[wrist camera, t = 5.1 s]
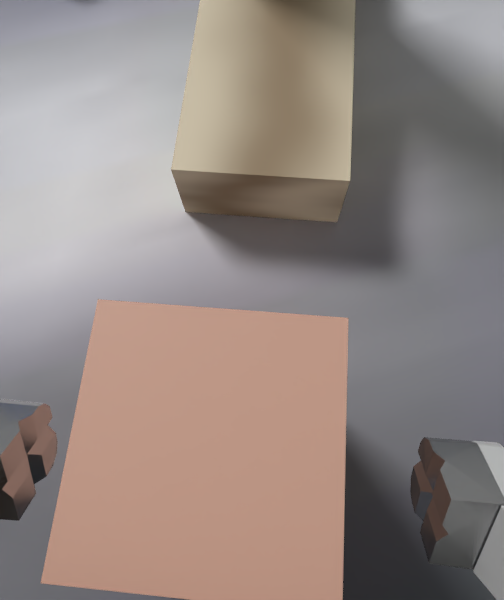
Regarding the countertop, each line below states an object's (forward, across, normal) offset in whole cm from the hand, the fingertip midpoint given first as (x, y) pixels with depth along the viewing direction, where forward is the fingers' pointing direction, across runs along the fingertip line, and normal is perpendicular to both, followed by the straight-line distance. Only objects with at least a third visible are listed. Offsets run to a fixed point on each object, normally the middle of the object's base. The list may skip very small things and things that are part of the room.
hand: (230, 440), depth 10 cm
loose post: (+4, 0, +4) cm, 5 cm away
